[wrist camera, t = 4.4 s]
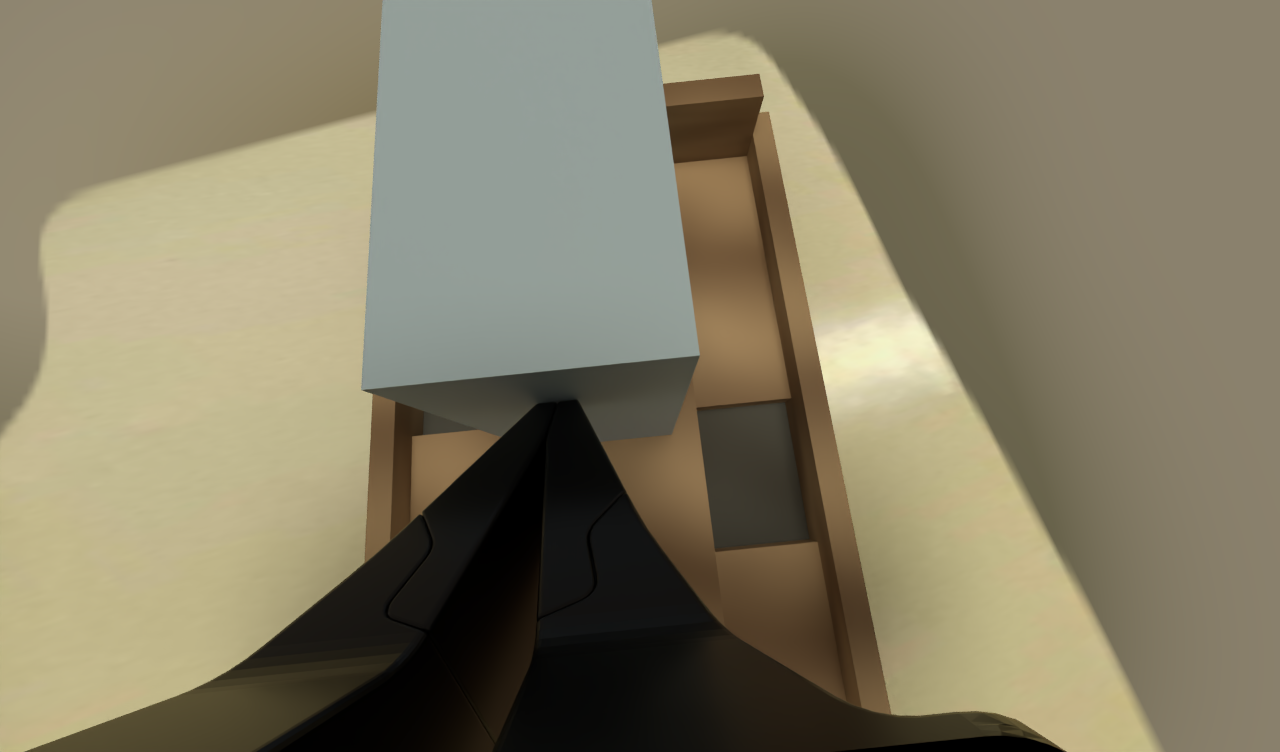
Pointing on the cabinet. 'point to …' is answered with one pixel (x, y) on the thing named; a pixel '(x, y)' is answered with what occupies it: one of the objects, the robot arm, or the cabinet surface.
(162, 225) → the cabinet surface
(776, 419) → the tray
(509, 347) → the slate block
